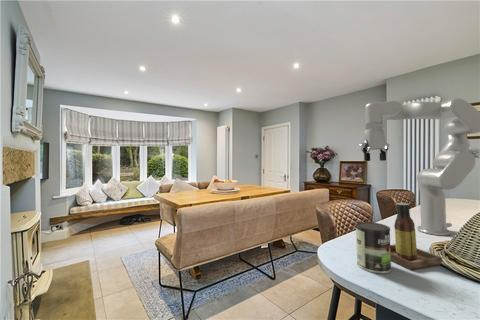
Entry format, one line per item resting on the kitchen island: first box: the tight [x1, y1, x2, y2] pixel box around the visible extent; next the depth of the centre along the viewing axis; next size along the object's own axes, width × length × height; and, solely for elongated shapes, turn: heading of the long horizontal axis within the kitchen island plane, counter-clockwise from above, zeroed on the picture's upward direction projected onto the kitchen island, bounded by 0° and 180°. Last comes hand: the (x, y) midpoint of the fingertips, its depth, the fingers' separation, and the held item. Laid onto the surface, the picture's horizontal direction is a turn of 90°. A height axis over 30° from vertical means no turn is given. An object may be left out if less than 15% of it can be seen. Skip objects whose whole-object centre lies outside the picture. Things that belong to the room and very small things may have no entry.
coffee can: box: [355, 221, 392, 275], centre depth 76 cm, size 10×10×14 cm
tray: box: [390, 243, 443, 271], centre depth 81 cm, size 14×14×2 cm
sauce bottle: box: [393, 202, 418, 260], centre depth 81 cm, size 6×6×20 cm
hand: (375, 160), depth 111 cm, fingers open, 9 cm apart
